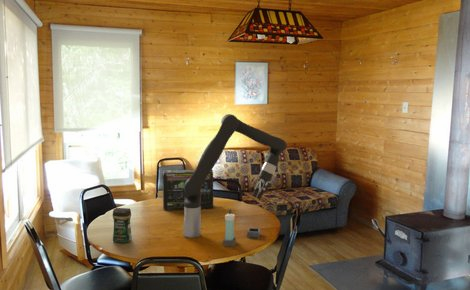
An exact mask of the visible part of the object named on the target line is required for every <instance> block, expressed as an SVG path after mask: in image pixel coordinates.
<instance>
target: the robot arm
mask: <svg viewBox="0 0 470 290" xmlns="http://www.w3.org/2000/svg"><path fill="white" fill-rule="evenodd" d="M220 124H221V125H220V127H219V130H218V131H217V132H216V135H215V136H214V137H213V138H212V139H211V141H210V142H209V143H208V144H207V146H206V147H205V149H204V150H203V152H202V154H201V156H200V158H199V160H198V163H197V166H196V168H195V169H194V170H195V172H194V173H193V175H192V176H191V178H189V179H188V180H187V181H186V182H185V185H184V190H185V198H184V210H183V211H184V212H183V213H184V217H183V218H184V219H183V221H182V222H183V229H182V230H183V233H182V234H183V237H186V238H190V239H192V238H193V239H195V238H196V239H197V238H199V237H201V226H202V225H201V223H202V222H201V219H202V218H201V216H202V215H201V210H202V209H201V187H202V185H203V183H204V181H205V179H206V177H207V175H208V174H209V173H210V171H211V170H213V168H214V167H215V166H216V164H217V162H218V161H219V159H220V157H221V156H222V153H223V152H224V149H225V147H226V145H227V143H228V142H229V140H230V138H231V137H232V135H233V134H234V133H235V132H237V133H239V134H241V135H243V136H246V137H247V138H249V139H250V140H252V141H254V142H257V143H258V144H260V145H263V146H265V147H269V153H268V155H267V157H266V160H264V163H263V165H262V167H261V170H260V172H259V173H258V177H259V178H258V179H257V181H256V182H255V184H254V187H253V188H254V190H253V193H252V194H251V196H252V197H253V198H256V199H257V200H261V199H262V197H263V195H264V194H265V193H266V191H267V189H268V186H269V185H270V183H269V182H272V179H273V176H274V174H275V173H276V169H277V166H278V164H279V162H280V159H281V157H280V155H281V152H284V151H286V150H287V147H288V144H287V142H286V141H285V140H284V139H282V138H280V137H277V136H274V135H272V134H269V133H268V132H266V131H263V130H261V129H259V128H256V127H255V126H251V125H249V124H247V123H245V122H243V121H242V120H241V119H239V118H237V116H236V115H235V114H231V113H230V114H225V115H223V117H222V119H221V123H220Z"/></svg>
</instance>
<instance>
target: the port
mask: <svg viewBox="0 0 470 290" xmlns="http://www.w3.org/2000/svg"><path fill="white" fill-rule="evenodd" d="M246 233H247V234H246V238H248V239H260V238H261V228H260V227H259V228H258V227H248V229H247V232H246Z"/></svg>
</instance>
